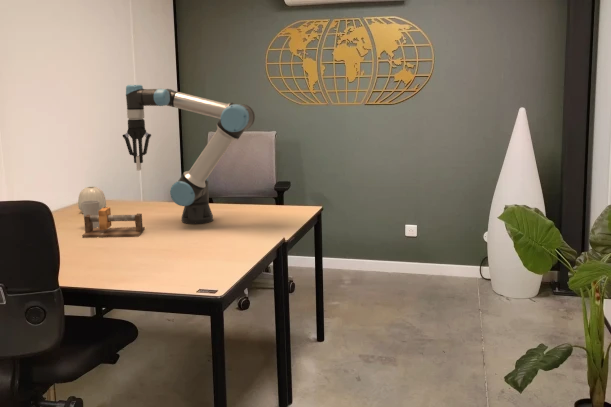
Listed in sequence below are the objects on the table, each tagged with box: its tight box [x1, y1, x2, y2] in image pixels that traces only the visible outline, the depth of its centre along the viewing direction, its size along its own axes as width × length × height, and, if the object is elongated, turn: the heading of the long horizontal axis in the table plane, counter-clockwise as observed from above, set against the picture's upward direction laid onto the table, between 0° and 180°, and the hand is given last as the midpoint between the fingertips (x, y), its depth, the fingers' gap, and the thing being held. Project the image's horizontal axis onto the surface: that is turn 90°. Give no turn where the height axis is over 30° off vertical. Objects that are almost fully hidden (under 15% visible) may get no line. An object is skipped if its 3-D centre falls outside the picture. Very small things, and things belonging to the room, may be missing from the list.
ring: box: [98, 206, 112, 230], centre depth 269 cm, size 3×8×8 cm, turn 3°
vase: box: [77, 186, 107, 213], centre depth 319 cm, size 14×14×13 cm
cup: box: [81, 200, 99, 228], centre depth 284 cm, size 8×8×12 cm
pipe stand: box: [82, 213, 146, 239], centre depth 270 cm, size 24×14×8 cm, turn 93°
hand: (139, 170), depth 282 cm, fingers closed
